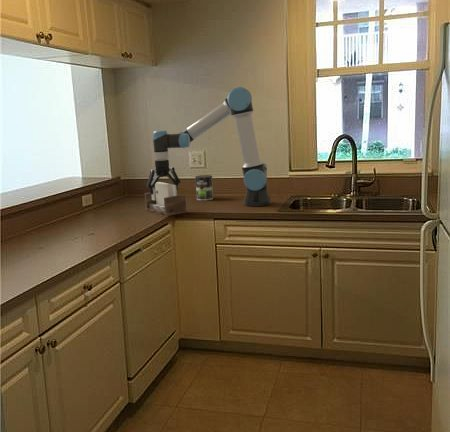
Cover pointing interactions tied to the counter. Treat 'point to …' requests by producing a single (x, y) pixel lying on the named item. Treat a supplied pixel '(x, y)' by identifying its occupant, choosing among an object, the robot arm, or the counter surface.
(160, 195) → the door panel
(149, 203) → the door track
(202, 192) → the coffee can
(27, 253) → the counter surface
